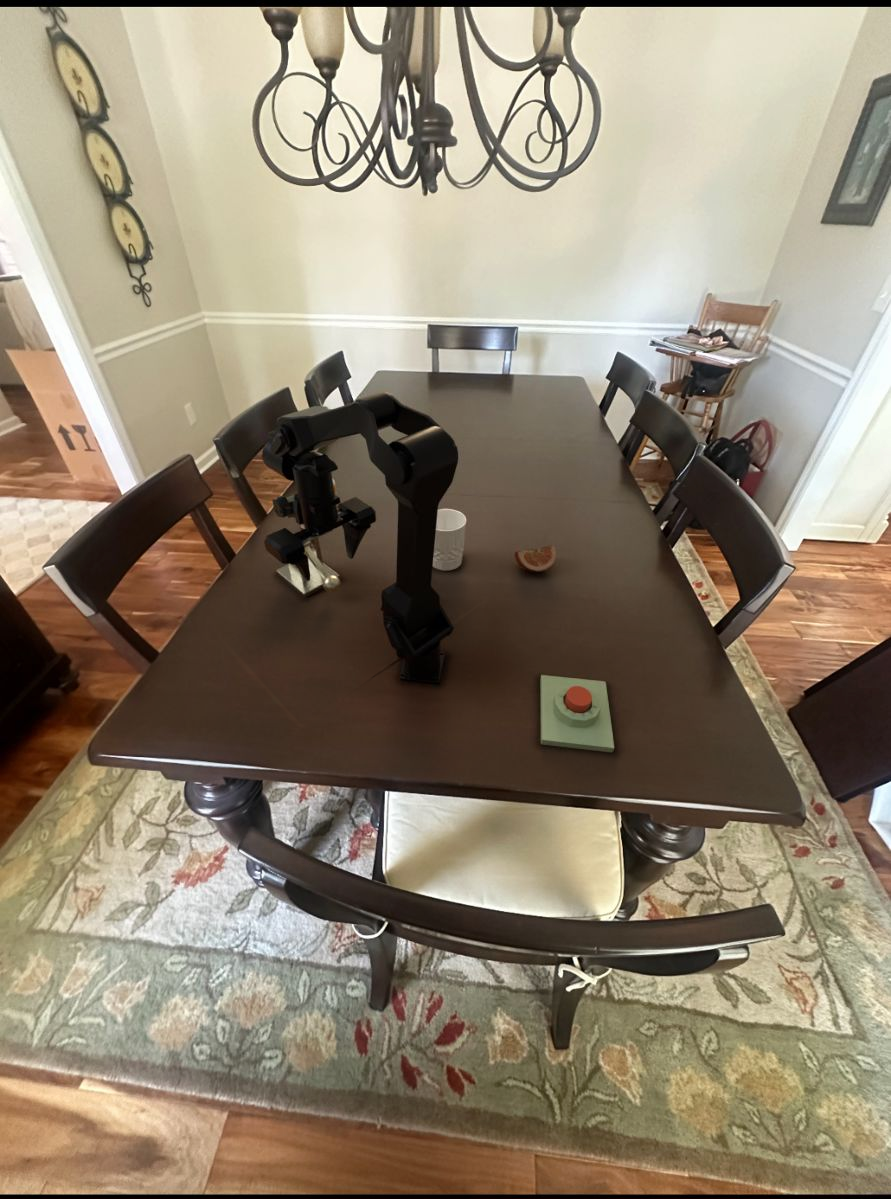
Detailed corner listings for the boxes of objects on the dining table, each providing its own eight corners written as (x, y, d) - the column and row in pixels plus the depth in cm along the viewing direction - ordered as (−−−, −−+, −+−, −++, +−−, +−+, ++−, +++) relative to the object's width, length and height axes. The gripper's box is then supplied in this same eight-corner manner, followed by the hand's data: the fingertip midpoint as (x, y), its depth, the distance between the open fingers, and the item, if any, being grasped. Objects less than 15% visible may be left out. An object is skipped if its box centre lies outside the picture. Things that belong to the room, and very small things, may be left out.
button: (590, 714, 74) (593, 707, 73) (565, 711, 74) (567, 704, 73) (588, 694, 77) (590, 687, 75) (564, 692, 77) (566, 684, 76)
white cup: (461, 575, 102) (462, 533, 95) (422, 570, 103) (421, 528, 96) (467, 552, 108) (469, 511, 101) (431, 547, 109) (430, 506, 102)
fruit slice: (546, 555, 107) (549, 535, 104) (560, 575, 102) (564, 554, 99) (508, 562, 105) (510, 542, 102) (521, 582, 100) (523, 561, 97)
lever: (342, 590, 96) (345, 583, 94) (327, 598, 95) (330, 591, 92) (302, 536, 98) (305, 527, 95) (288, 543, 96) (290, 534, 94)
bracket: (340, 579, 101) (333, 536, 94) (305, 598, 96) (295, 554, 90) (311, 557, 106) (302, 514, 99) (277, 574, 102) (265, 530, 95)
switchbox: (612, 752, 72) (617, 740, 70) (540, 744, 73) (543, 732, 71) (604, 686, 81) (608, 673, 79) (540, 679, 82) (542, 667, 80)
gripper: (334, 455, 91) (345, 530, 101) (236, 492, 81) (259, 570, 91) (374, 477, 85) (381, 554, 95) (273, 520, 75) (293, 600, 85)
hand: (329, 568), depth 92 cm, fingers open, 9 cm apart
